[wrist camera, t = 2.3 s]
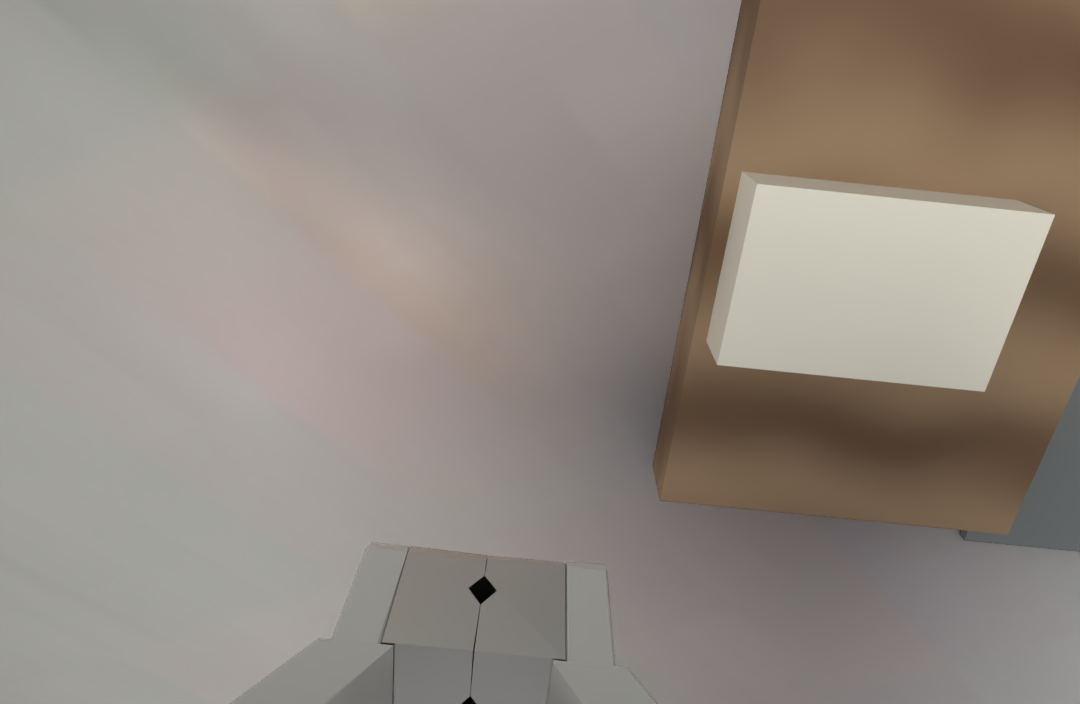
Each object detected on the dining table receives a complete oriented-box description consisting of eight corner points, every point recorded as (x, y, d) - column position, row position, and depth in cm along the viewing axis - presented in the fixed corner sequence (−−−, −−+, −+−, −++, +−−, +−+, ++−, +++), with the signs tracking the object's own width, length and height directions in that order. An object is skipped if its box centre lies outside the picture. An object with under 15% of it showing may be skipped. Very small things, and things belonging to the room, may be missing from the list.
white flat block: (955, 366, 26) (984, 391, 24) (706, 341, 26) (716, 364, 24) (1016, 199, 23) (1054, 214, 22) (741, 171, 23) (756, 183, 21)
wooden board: (975, 497, 31) (1007, 534, 29) (652, 465, 31) (660, 500, 29) (1193, -23, 23) (1262, -28, 21) (755, -70, 23) (776, -81, 20)
